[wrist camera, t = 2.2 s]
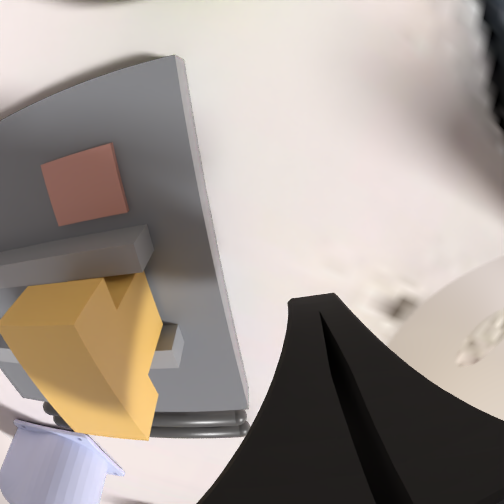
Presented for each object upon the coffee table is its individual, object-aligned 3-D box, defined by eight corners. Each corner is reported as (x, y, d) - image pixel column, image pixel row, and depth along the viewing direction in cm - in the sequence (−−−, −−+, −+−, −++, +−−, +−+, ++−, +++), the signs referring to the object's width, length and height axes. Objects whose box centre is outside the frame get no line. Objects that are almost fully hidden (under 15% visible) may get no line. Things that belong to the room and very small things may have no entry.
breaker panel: (57, 416, 19) (46, 444, 17) (-70, 171, 10) (-105, 190, 7) (257, 423, 19) (258, 462, 16) (184, 59, 9) (162, 48, 7)
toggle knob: (109, 346, 13) (74, 432, 9) (64, 246, 10) (-5, 325, 6) (170, 344, 13) (148, 440, 8) (132, 235, 10) (73, 324, 6)
